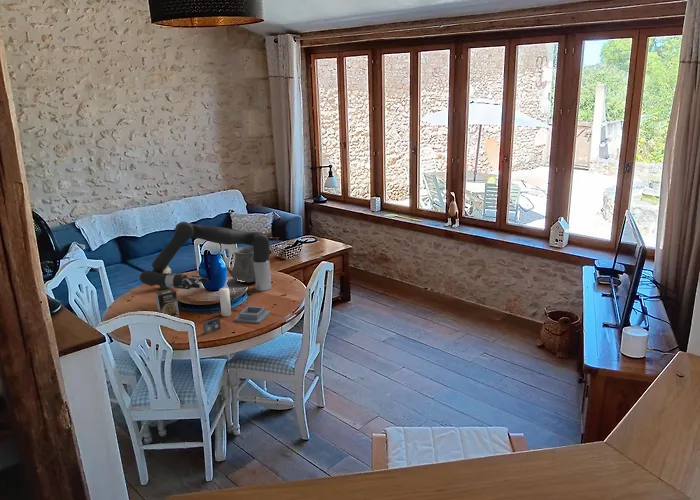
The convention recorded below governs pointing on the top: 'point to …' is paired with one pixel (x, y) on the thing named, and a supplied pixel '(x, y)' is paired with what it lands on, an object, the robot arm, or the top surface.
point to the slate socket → (252, 315)
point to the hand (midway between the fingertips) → (203, 283)
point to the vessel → (243, 264)
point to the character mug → (168, 270)
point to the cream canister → (225, 301)
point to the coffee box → (167, 302)
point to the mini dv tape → (211, 325)
